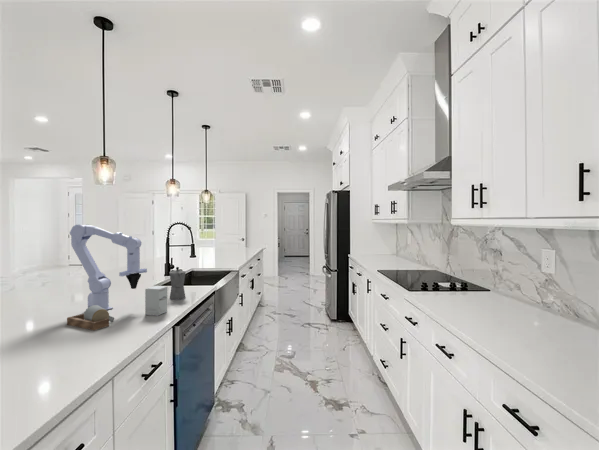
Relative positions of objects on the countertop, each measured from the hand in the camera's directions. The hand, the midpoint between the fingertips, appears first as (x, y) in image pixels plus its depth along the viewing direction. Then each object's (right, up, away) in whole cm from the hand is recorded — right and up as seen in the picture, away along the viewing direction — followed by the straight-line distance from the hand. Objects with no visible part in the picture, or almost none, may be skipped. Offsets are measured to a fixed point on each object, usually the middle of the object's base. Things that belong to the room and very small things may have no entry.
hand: (133, 288), depth 167 cm
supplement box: (+15, -11, -8) cm, 20 cm away
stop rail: (-6, -11, -26) cm, 29 cm away
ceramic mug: (-3, -11, -23) cm, 26 cm away
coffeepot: (+13, -10, +25) cm, 30 cm away
